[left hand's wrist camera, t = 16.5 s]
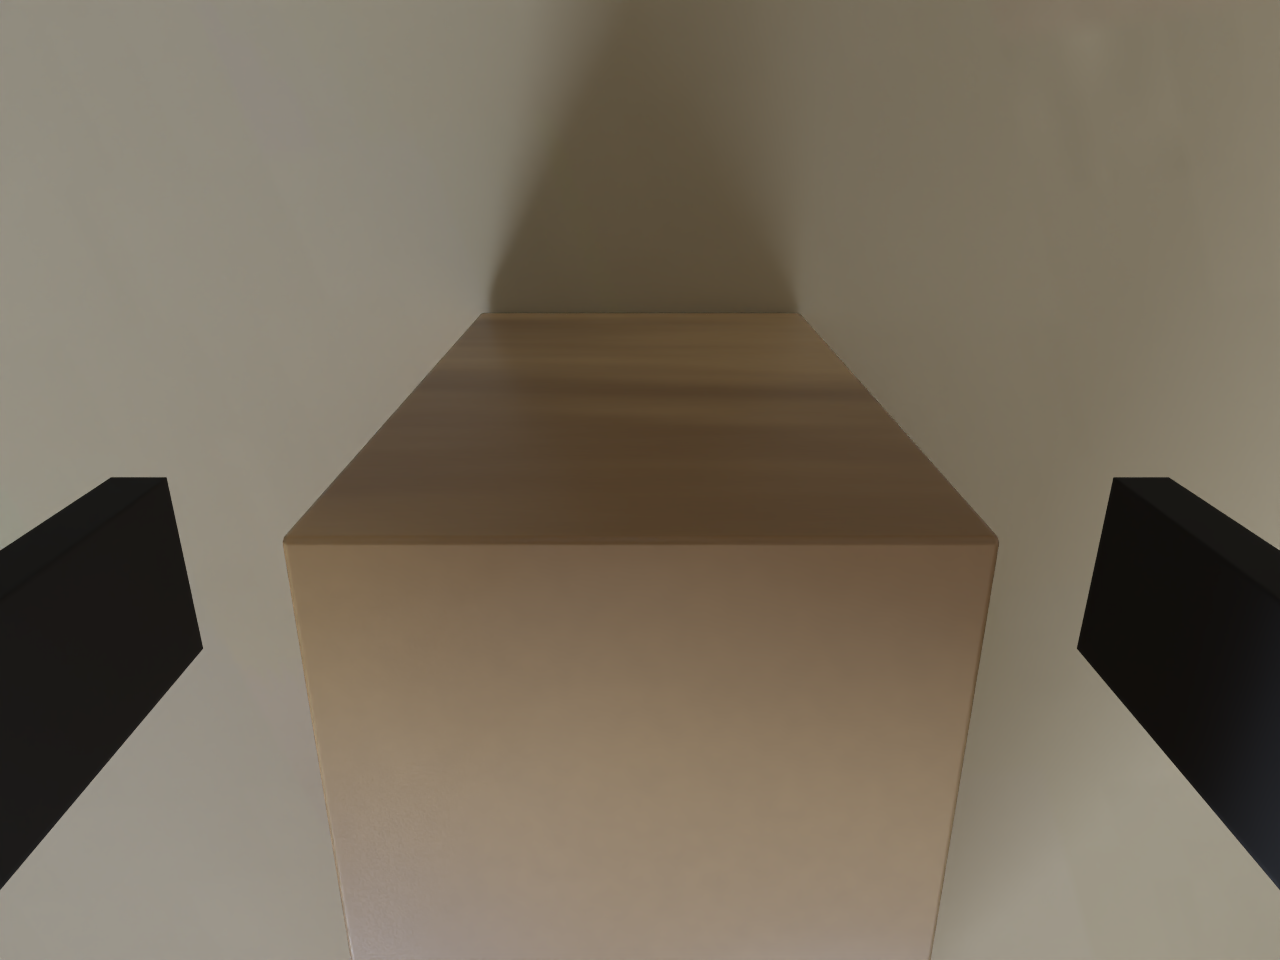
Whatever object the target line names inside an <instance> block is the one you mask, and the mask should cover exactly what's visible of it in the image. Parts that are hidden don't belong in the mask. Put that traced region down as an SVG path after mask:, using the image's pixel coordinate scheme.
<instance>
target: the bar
mask: <svg viewBox="0 0 1280 960" xmlns="http://www.w3.org/2000/svg"><path fill="white" fill-rule="evenodd" d="M998 546H999V540H998V537H997V536H996V535H995V533H994V532H993V531H992V530H991V529H990V528H989V527H988V525H987V524H986V523H985V522H984V521H983V520H982V519H981V518H980V516H979V515H978V514H977V513H976V512H975V511H974V510H973V509H972V507H971V506H970V505H969V504H968V503H967V502H966V501H965V500H964V498H963V497H962V496H961V495H960V494H959V493H958V492H957V491H956V489H955V488H954V487H953V486H952V485H951V484H950V483H949V482H948V480H947V479H946V478H945V477H944V476H943V475H942V474H941V472H940V471H939V470H938V469H937V468H936V467H935V466H934V465H933V463H932V462H931V461H930V460H929V459H928V458H927V457H926V456H925V454H924V453H923V452H922V451H921V450H920V449H919V448H918V447H917V445H916V444H915V443H914V442H913V441H912V440H911V439H910V438H909V436H908V435H907V434H906V433H905V432H904V431H903V430H902V429H901V427H900V426H899V425H898V424H897V423H896V422H895V421H894V419H893V418H892V417H891V416H890V415H889V414H888V413H887V412H886V410H885V409H884V408H883V407H882V406H881V405H880V404H879V403H878V401H877V400H876V399H875V398H874V397H873V396H872V395H871V394H870V392H869V391H868V390H867V389H866V388H865V387H864V386H863V385H862V383H861V382H860V381H859V380H858V379H857V378H856V377H855V376H854V374H853V373H852V372H851V371H850V370H849V369H848V368H847V367H846V365H845V364H844V363H843V362H842V361H841V360H840V359H839V357H838V356H837V355H836V354H835V353H834V352H833V351H832V350H831V348H830V347H829V346H828V345H827V344H826V343H825V342H824V341H823V339H822V338H821V337H820V336H819V335H818V334H817V333H816V332H815V330H814V329H813V328H812V327H811V326H810V325H809V324H808V323H807V321H806V320H805V319H804V318H803V317H802V316H801V315H800V314H798V313H483V314H481V315H480V316H479V317H478V318H477V319H476V320H475V322H474V323H473V324H472V325H471V326H470V327H469V328H468V329H467V331H466V332H465V333H464V334H463V335H462V336H461V337H460V338H459V340H458V341H457V342H456V343H455V344H454V345H453V346H452V348H451V349H450V350H449V351H448V352H447V353H446V354H445V355H444V357H443V358H442V359H441V360H440V361H439V362H438V363H437V365H436V366H435V367H434V368H433V369H432V370H431V371H430V372H429V374H428V375H427V376H426V377H425V378H424V379H423V380H422V382H421V383H420V384H419V385H418V386H417V387H416V388H415V389H414V391H413V392H412V393H411V394H410V395H409V396H408V397H407V398H406V400H405V401H404V402H403V403H402V404H401V405H400V406H399V408H398V409H397V410H396V411H395V412H394V413H393V414H392V415H391V417H390V418H389V419H388V420H387V421H386V422H385V423H384V425H383V426H382V427H381V428H380V429H379V430H378V431H377V432H376V434H375V435H374V436H373V437H372V438H371V439H370V440H369V442H368V443H367V444H366V445H365V446H364V447H363V448H362V449H361V451H360V452H359V453H358V454H357V455H356V456H355V457H354V459H353V460H352V461H351V462H350V463H349V464H348V465H347V466H346V468H345V469H344V470H343V471H342V472H341V473H340V474H339V475H338V477H337V478H336V479H335V480H334V481H333V482H332V483H331V485H330V486H329V487H328V488H327V489H326V490H325V491H324V492H323V494H322V495H321V496H320V497H319V498H318V499H317V500H316V502H315V503H314V504H313V505H312V506H311V507H310V508H309V509H308V511H307V512H306V513H305V514H304V515H303V516H302V517H301V519H300V520H299V521H298V522H297V523H296V524H295V525H294V526H293V528H292V529H291V530H290V531H289V532H288V533H287V534H286V536H285V537H284V540H283V547H284V553H285V559H286V565H287V571H288V578H289V584H290V590H291V596H292V602H293V608H294V614H295V620H296V626H297V633H298V639H299V645H300V651H301V657H302V663H303V669H304V675H305V681H306V687H307V694H308V700H309V706H310V712H311V718H312V724H313V730H314V736H315V742H316V749H317V755H318V761H319V767H320V773H321V779H322V785H323V791H324V797H325V803H326V810H327V816H328V822H329V828H330V834H331V840H332V846H333V852H334V858H335V865H336V871H337V877H338V883H339V889H340V895H341V901H342V907H343V913H344V919H345V926H346V932H347V938H348V944H349V950H350V956H351V960H931V954H932V948H933V942H934V936H935V929H936V923H937V917H938V911H939V905H940V899H941V893H942V887H943V881H944V875H945V869H946V863H947V856H948V850H949V844H950V838H951V832H952V826H953V820H954V814H955V808H956V802H957V796H958V790H959V783H960V777H961V771H962V765H963V759H964V753H965V747H966V741H967V735H968V729H969V723H970V717H971V711H972V704H973V698H974V692H975V686H976V680H977V674H978V668H979V662H980V656H981V650H982V644H983V638H984V631H985V625H986V619H987V613H988V607H989V601H990V595H991V589H992V583H993V577H994V571H995V565H996V558H997V552H998Z"/></svg>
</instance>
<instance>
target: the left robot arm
mask: <svg viewBox="0 0 1280 960" xmlns="http://www.w3.org/2000/svg"><path fill="white" fill-rule="evenodd" d="M202 649H203V646H202V641H201V636H200V632H199V627H198V622H197V618H196V613H195V608H194V604H193V599H192V594H191V590H190V585H189V580H188V576H187V571H186V566H185V562H184V557H183V552H182V548H181V543H180V538H179V534H178V529H177V524H176V520H175V515H174V510H173V506H172V501H171V496H170V492H169V487H168V482H167V478H166V477H111V478H110V479H108V480H107V481H105V482H103V483H102V484H100V485H99V486H97V487H96V488H94V489H93V490H91V491H90V492H88V493H87V494H85V495H84V496H82V497H81V498H79V499H78V500H76V501H75V502H73V503H72V504H70V505H69V506H67V507H66V508H64V509H63V510H61V511H60V512H58V513H56V514H55V515H53V516H52V517H50V518H49V519H47V520H46V521H44V522H43V523H41V524H40V525H38V526H37V527H35V528H34V529H32V530H31V531H29V532H28V533H26V534H25V535H23V536H22V537H20V538H19V539H17V540H16V541H14V542H13V543H11V544H9V545H8V546H6V547H5V548H3V549H2V550H0V890H1V888H2V887H3V886H4V885H5V884H6V882H7V881H8V880H9V879H10V878H11V876H12V875H13V874H14V873H15V872H16V870H17V869H18V868H19V867H20V866H21V865H22V863H23V862H24V861H25V860H26V859H27V857H28V856H29V855H30V854H31V853H32V851H33V850H34V849H35V848H36V847H37V845H38V844H39V843H40V842H41V841H42V840H43V838H44V837H45V836H46V835H47V834H48V832H49V831H50V830H51V829H52V828H53V826H54V825H55V824H56V823H57V822H58V820H59V819H60V818H61V817H62V816H63V815H64V813H65V812H66V811H67V810H68V809H69V807H70V806H71V805H72V804H73V803H74V801H75V800H76V799H77V798H78V797H79V796H80V794H81V793H82V792H83V791H84V790H85V788H86V787H87V786H88V785H89V784H90V782H91V781H92V780H93V779H94V778H95V776H96V775H97V774H98V773H99V772H100V771H101V769H102V768H103V767H104V766H105V765H106V763H107V762H108V761H109V760H110V759H111V757H112V756H113V755H114V754H115V753H116V751H117V750H118V749H119V748H120V747H121V746H122V744H123V743H124V742H125V741H126V740H127V738H128V737H129V736H130V735H131V734H132V732H133V731H134V730H135V729H136V728H137V726H138V725H139V724H140V723H141V722H142V721H143V719H144V718H145V717H146V716H147V715H148V713H149V712H150V711H151V710H152V709H153V707H154V706H155V705H156V704H157V703H158V702H159V700H160V699H161V698H162V697H163V696H164V694H165V693H166V692H167V691H168V690H169V688H170V687H171V686H172V685H173V684H174V682H175V681H176V680H177V679H178V678H179V677H180V675H181V674H182V673H183V672H184V671H185V669H186V668H187V667H188V666H189V665H190V663H191V662H192V661H193V660H194V659H195V657H196V656H197V655H198V654H199V653H200V652H201V650H202ZM1077 649H1078V650H1079V652H1080V653H1081V654H1082V655H1083V656H1084V657H1085V659H1086V660H1087V661H1088V662H1089V663H1090V665H1091V666H1092V667H1093V668H1094V669H1095V671H1096V672H1097V673H1098V674H1099V675H1100V677H1101V678H1102V679H1103V680H1104V681H1105V682H1106V684H1107V685H1108V686H1109V687H1110V688H1111V690H1112V691H1113V692H1114V693H1115V694H1116V696H1117V697H1118V698H1119V699H1120V700H1121V702H1122V703H1123V704H1124V705H1125V706H1126V707H1127V709H1128V710H1129V711H1130V712H1131V713H1132V715H1133V716H1134V717H1135V718H1136V719H1137V721H1138V722H1139V723H1140V724H1141V725H1142V726H1143V728H1144V729H1145V730H1146V731H1147V732H1148V734H1149V735H1150V736H1151V737H1152V738H1153V740H1154V741H1155V742H1156V743H1157V744H1158V746H1159V747H1160V748H1161V749H1162V750H1163V751H1164V753H1165V754H1166V755H1167V756H1168V757H1169V759H1170V760H1171V761H1172V762H1173V763H1174V765H1175V766H1176V767H1177V768H1178V769H1179V771H1180V772H1181V773H1182V774H1183V775H1184V776H1185V778H1186V779H1187V780H1188V781H1189V782H1190V784H1191V785H1192V786H1193V787H1194V788H1195V790H1196V791H1197V792H1198V793H1199V794H1200V796H1201V797H1202V798H1203V799H1204V800H1205V801H1206V803H1207V804H1208V805H1209V806H1210V807H1211V809H1212V810H1213V811H1214V812H1215V813H1216V815H1217V816H1218V817H1219V818H1220V819H1221V820H1222V822H1223V823H1224V824H1225V825H1226V826H1227V828H1228V829H1229V830H1230V831H1231V832H1232V834H1233V835H1234V836H1235V837H1236V838H1237V840H1238V841H1239V842H1240V843H1241V844H1242V845H1243V847H1244V848H1245V849H1246V850H1247V851H1248V853H1249V854H1250V855H1251V856H1252V857H1253V859H1254V860H1255V861H1256V862H1257V863H1258V865H1259V866H1260V867H1261V868H1262V869H1263V870H1264V872H1265V873H1266V874H1267V875H1268V876H1269V878H1270V879H1271V880H1272V881H1273V882H1274V884H1275V885H1276V886H1277V887H1278V888H1279V890H1280V550H1278V549H1277V548H1275V547H1274V546H1272V545H1271V544H1269V543H1267V542H1266V541H1264V540H1263V539H1261V538H1260V537H1258V536H1257V535H1255V534H1254V533H1252V532H1251V531H1249V530H1248V529H1246V528H1245V527H1243V526H1242V525H1240V524H1239V523H1237V522H1236V521H1234V520H1233V519H1231V518H1230V517H1228V516H1227V515H1225V514H1224V513H1222V512H1220V511H1219V510H1217V509H1216V508H1214V507H1213V506H1211V505H1210V504H1208V503H1207V502H1205V501H1204V500H1202V499H1201V498H1199V497H1198V496H1196V495H1195V494H1193V493H1192V492H1190V491H1189V490H1187V489H1186V488H1184V487H1183V486H1181V485H1180V484H1178V483H1177V482H1175V481H1173V480H1172V479H1170V478H1169V477H1114V478H1113V482H1112V487H1111V492H1110V496H1109V501H1108V506H1107V510H1106V515H1105V520H1104V524H1103V529H1102V534H1101V538H1100V543H1099V548H1098V552H1097V557H1096V562H1095V566H1094V571H1093V576H1092V580H1091V585H1090V590H1089V594H1088V599H1087V604H1086V608H1085V613H1084V618H1083V622H1082V627H1081V632H1080V636H1079V641H1078V646H1077Z"/></svg>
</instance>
